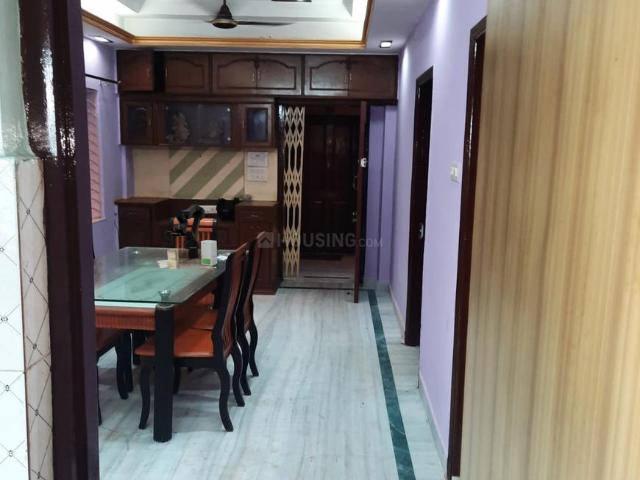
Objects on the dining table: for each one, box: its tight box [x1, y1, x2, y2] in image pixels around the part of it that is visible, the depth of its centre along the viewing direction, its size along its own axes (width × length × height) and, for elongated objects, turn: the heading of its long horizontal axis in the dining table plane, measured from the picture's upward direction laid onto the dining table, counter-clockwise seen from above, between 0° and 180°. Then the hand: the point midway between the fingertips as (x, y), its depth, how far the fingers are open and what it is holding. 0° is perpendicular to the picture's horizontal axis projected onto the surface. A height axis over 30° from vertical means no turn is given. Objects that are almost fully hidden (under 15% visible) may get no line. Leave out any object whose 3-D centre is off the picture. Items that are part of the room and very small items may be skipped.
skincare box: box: [200, 239, 218, 266], centre depth 360 cm, size 8×7×16 cm
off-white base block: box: [156, 259, 168, 269], centre depth 360 cm, size 10×10×3 cm
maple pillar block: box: [166, 248, 180, 270], centre depth 352 cm, size 5×5×12 cm
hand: (177, 245), depth 358 cm, fingers open, 9 cm apart
